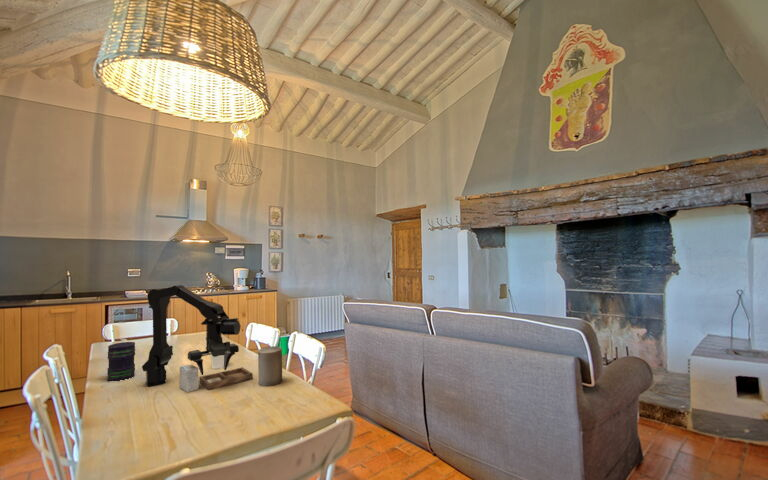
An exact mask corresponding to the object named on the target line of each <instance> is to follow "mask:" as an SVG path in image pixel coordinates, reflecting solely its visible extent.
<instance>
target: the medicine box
mask: <svg viewBox="0 0 768 480" xmlns="http://www.w3.org/2000/svg"><path fill="white" fill-rule="evenodd" d="M199 384H200V383H199V367H198V366H195V365H193V364H190V363H189V364H186V365H182V366H180V367H179V388H180V389H181V390H182V391H184V392H186V393H190V392H193V391H197V390H199V388H200V386H199Z"/></svg>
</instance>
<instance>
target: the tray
mask: <svg viewBox="0 0 768 480" xmlns="http://www.w3.org/2000/svg"><path fill="white" fill-rule="evenodd" d="M253 379H254V377H253V373H252V372H251V371H249V370H248V369H246V368H245V367H239V368H238V367H237V368H234V369H230V370H229V369H228V370H224V371H219V372H215V373H211V374H205V375H201V376H198V380H199V384H200V385H201V386H203V387H204V389H206V390H207V391H210V390H215V389H217V388H223V387H227V386H231V385H234V384H240V383H241V382H242V383H243V382H247V381H251V380H253Z"/></svg>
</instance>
